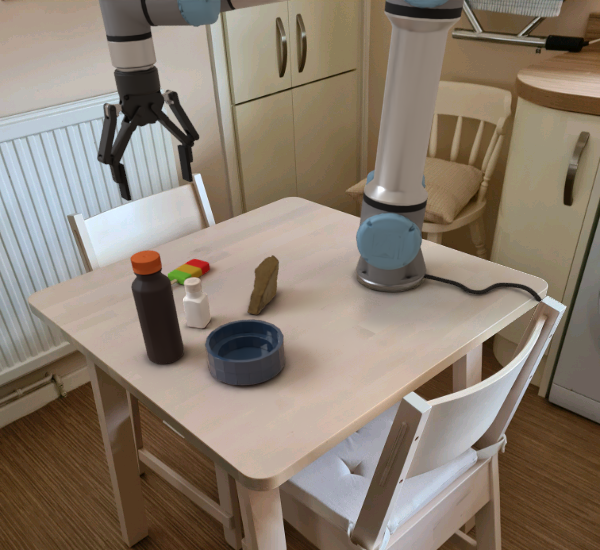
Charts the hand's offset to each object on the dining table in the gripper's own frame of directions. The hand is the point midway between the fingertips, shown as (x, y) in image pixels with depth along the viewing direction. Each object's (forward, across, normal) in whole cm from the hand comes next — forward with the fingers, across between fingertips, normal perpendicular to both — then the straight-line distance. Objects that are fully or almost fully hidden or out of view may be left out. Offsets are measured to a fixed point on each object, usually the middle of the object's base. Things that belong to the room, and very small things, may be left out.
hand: (158, 189), depth 119 cm
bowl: (+23, +5, +32) cm, 39 cm away
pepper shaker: (+23, +3, +13) cm, 27 cm away
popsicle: (+23, -4, -6) cm, 24 cm away
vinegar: (+23, +14, +18) cm, 33 cm away
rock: (+23, -11, +15) cm, 30 cm away
